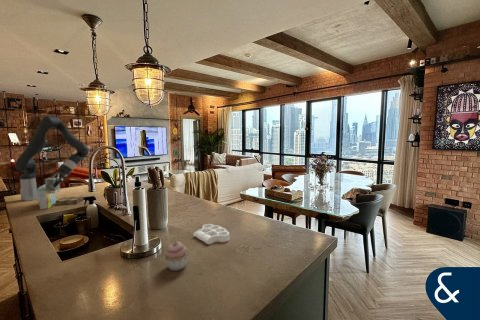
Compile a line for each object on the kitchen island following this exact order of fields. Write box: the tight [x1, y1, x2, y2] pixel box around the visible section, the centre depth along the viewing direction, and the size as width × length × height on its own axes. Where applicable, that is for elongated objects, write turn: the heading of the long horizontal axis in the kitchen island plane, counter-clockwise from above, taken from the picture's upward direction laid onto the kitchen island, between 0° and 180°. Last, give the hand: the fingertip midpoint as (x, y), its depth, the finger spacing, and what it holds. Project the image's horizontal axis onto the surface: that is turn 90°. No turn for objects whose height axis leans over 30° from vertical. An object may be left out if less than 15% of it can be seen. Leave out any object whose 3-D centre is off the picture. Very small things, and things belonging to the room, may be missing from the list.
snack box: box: [36, 184, 58, 211], centre depth 171 cm, size 21×6×15 cm, turn 25°
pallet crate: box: [44, 177, 62, 194], centre depth 161 cm, size 6×6×10 cm
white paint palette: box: [192, 223, 230, 245], centre depth 114 cm, size 3×18×15 cm
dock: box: [55, 196, 84, 206], centre depth 178 cm, size 14×10×3 cm
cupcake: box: [163, 241, 190, 272], centre depth 88 cm, size 9×9×10 cm
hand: (50, 186), depth 160 cm, fingers closed on pallet crate, 8 cm apart
